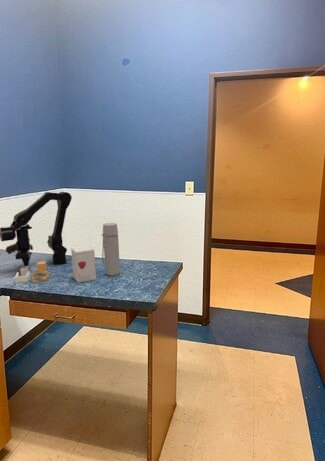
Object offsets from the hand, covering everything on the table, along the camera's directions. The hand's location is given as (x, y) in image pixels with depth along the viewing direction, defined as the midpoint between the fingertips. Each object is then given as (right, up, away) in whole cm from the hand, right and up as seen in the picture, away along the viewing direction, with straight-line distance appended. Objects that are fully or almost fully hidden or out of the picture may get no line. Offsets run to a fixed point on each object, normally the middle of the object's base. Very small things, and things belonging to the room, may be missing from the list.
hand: (26, 267), depth 174 cm
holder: (+12, -4, -14) cm, 19 cm away
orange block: (+10, -2, -4) cm, 11 cm away
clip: (+4, -4, -13) cm, 14 cm away
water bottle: (+46, -2, -9) cm, 47 cm away
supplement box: (+34, -4, -15) cm, 37 cm away
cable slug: (+2, -3, -7) cm, 8 cm away
